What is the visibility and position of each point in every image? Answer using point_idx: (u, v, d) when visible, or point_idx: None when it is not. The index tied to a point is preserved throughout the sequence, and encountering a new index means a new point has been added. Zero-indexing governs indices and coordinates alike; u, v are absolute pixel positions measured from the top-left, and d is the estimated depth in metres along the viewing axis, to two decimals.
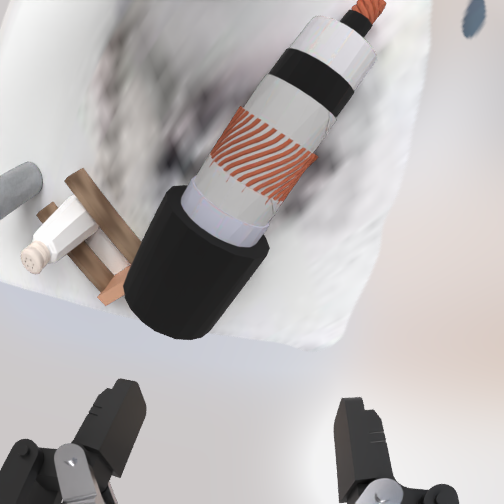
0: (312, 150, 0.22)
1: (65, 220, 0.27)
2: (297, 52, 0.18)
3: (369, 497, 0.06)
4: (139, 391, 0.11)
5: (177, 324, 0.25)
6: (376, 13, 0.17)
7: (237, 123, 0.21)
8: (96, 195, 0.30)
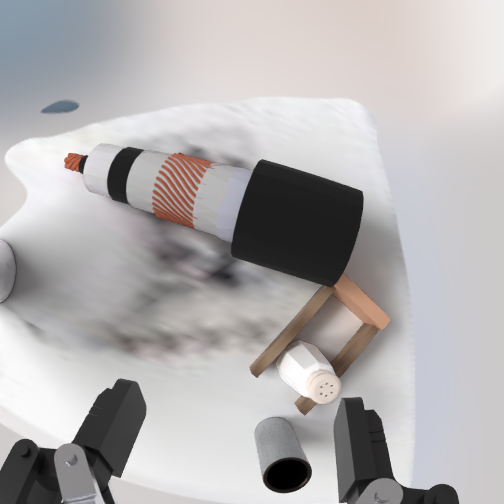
0: None
1: (291, 366, 0.29)
2: (108, 186, 0.30)
3: (369, 497, 0.06)
4: (139, 391, 0.11)
5: (343, 207, 0.26)
6: (77, 155, 0.32)
7: (162, 208, 0.29)
8: (272, 345, 0.33)
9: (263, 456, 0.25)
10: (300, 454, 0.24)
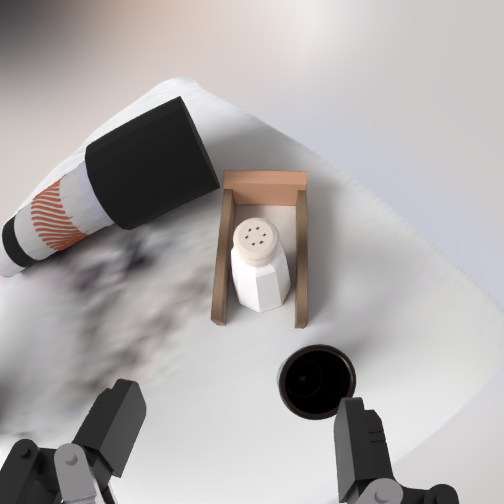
0: None
1: (234, 273, 0.24)
2: (8, 253, 0.27)
3: (369, 497, 0.06)
4: (139, 391, 0.11)
5: (163, 108, 0.25)
6: None
7: (47, 233, 0.26)
8: None
9: None
10: None
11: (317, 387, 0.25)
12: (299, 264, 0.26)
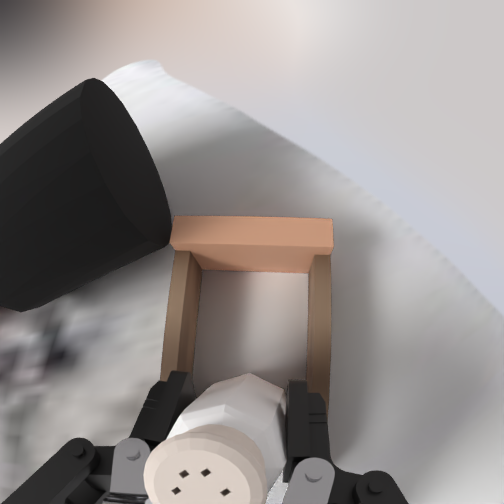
0: None
1: None
2: None
3: (300, 479, 0.07)
4: (191, 382, 0.12)
5: (54, 103, 0.11)
6: None
7: None
8: None
9: None
10: None
11: None
12: None
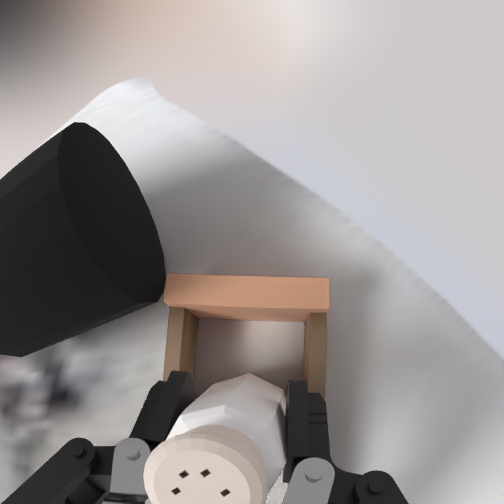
0: None
1: None
2: None
3: (300, 479, 0.07)
4: (191, 382, 0.12)
5: (33, 157, 0.11)
6: None
7: None
8: None
9: None
10: None
11: None
12: None
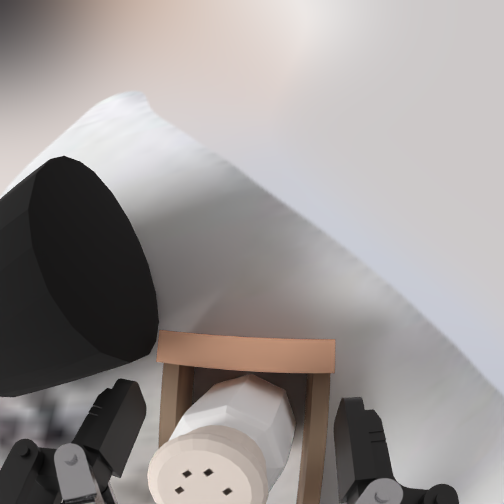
0: None
1: None
2: None
3: (369, 497, 0.06)
4: (139, 391, 0.11)
5: (6, 203, 0.09)
6: None
7: None
8: None
9: None
10: None
11: None
12: None
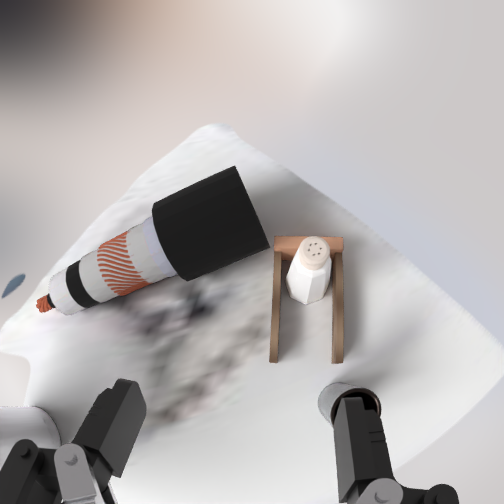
0: None
1: (291, 274, 0.32)
2: (73, 297, 0.34)
3: (369, 497, 0.06)
4: (139, 391, 0.11)
5: (223, 182, 0.31)
6: (43, 297, 0.37)
7: (116, 283, 0.34)
8: None
9: (326, 415, 0.24)
10: (352, 387, 0.24)
11: None
12: (337, 316, 0.32)
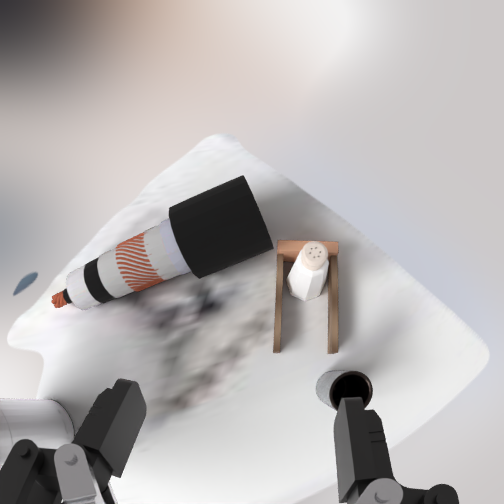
0: None
1: (293, 274, 0.37)
2: (91, 293, 0.38)
3: (369, 497, 0.06)
4: (139, 391, 0.11)
5: (234, 190, 0.36)
6: (58, 293, 0.40)
7: (133, 280, 0.38)
8: None
9: (325, 396, 0.29)
10: (347, 371, 0.29)
11: (343, 393, 0.35)
12: (333, 311, 0.37)
